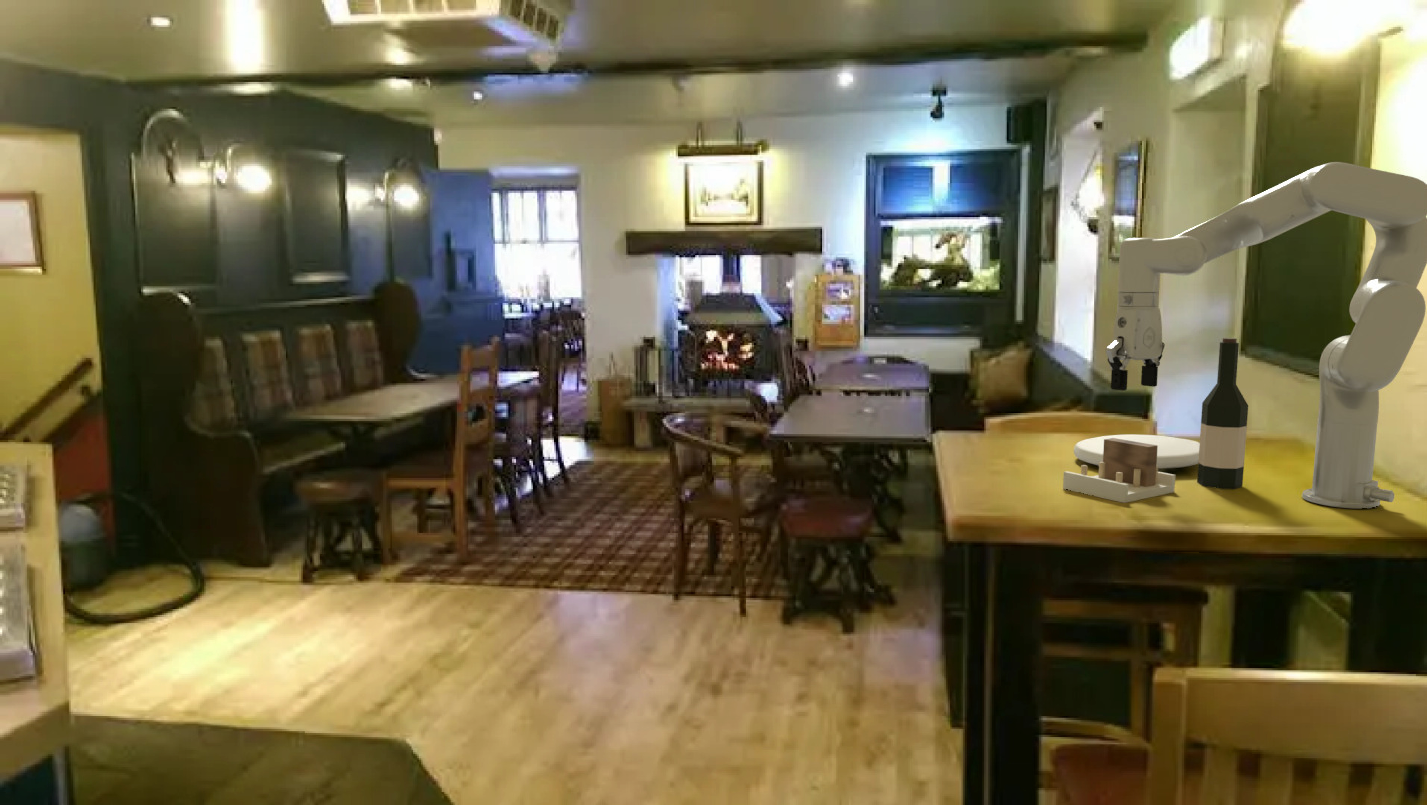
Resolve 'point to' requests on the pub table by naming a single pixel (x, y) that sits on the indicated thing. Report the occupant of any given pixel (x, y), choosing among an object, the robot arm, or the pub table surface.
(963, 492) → the pub table surface
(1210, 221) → the robot arm
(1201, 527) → the pub table surface
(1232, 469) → the wine bottle
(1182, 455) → the plate
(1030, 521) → the pub table surface
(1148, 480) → the walnut board
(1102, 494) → the rack
